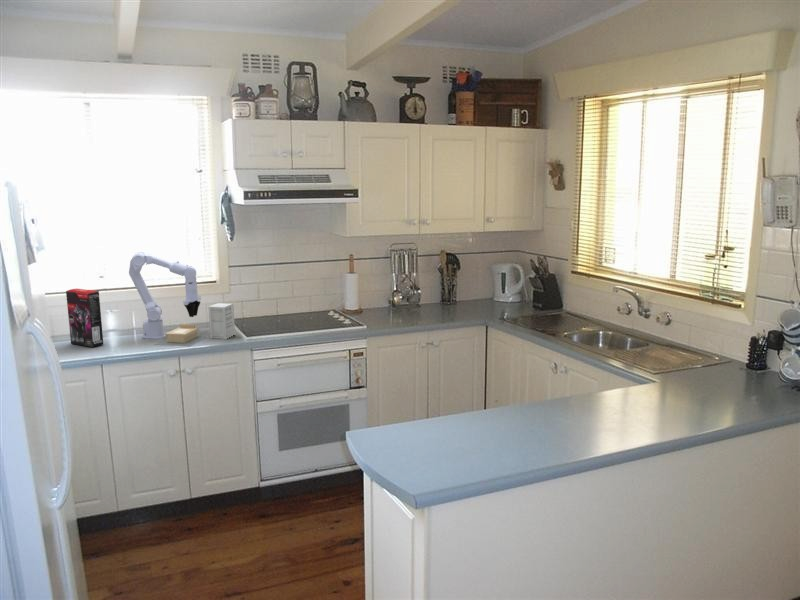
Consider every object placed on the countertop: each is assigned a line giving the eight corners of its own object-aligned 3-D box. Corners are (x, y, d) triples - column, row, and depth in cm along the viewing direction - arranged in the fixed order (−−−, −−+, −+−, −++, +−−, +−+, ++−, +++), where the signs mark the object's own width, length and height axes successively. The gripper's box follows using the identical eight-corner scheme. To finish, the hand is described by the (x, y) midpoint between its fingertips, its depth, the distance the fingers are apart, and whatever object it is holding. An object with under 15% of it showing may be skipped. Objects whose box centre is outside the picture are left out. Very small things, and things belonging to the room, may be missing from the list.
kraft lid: (165, 336, 330) (165, 330, 329) (179, 329, 343) (179, 323, 343) (184, 337, 328) (184, 330, 327) (198, 330, 341) (198, 324, 341)
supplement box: (235, 335, 346) (234, 303, 343) (226, 339, 337) (224, 307, 334) (219, 334, 348) (217, 302, 345) (209, 338, 340) (207, 306, 336)
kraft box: (167, 342, 330) (166, 334, 329) (181, 335, 344) (181, 328, 343) (184, 343, 329) (183, 335, 328) (197, 336, 342) (197, 328, 341)
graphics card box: (69, 344, 330) (64, 290, 325) (82, 341, 336) (76, 287, 331) (92, 348, 322) (87, 292, 317) (105, 344, 328) (100, 290, 323)
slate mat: (153, 345, 326) (153, 344, 326) (176, 334, 348) (176, 334, 347) (189, 347, 323) (189, 346, 323) (210, 336, 344) (210, 335, 344)
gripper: (191, 293, 336) (193, 319, 338) (205, 288, 350) (206, 313, 352) (178, 292, 337) (180, 318, 339) (192, 287, 351) (194, 313, 353)
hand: (193, 316), depth 346 cm, fingers open, 3 cm apart
